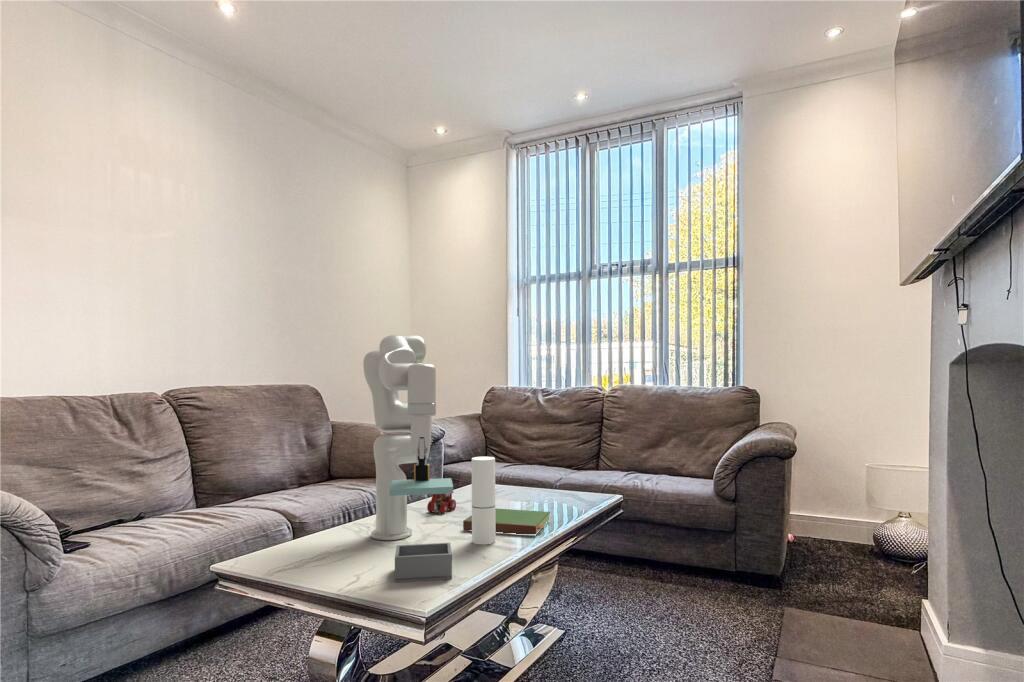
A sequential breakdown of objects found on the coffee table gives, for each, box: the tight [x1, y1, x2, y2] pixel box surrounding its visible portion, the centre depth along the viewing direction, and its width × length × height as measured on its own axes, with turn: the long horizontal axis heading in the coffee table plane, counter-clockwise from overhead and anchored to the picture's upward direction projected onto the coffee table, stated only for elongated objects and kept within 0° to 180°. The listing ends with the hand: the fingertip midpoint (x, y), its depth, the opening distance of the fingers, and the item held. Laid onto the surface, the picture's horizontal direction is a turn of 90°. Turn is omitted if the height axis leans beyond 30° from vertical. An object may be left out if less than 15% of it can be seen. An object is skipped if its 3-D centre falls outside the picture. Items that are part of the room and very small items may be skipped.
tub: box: [394, 542, 453, 583], centre depth 150 cm, size 10×14×6 cm
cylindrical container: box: [471, 456, 497, 545], centre depth 178 cm, size 7×7×25 cm
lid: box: [390, 463, 454, 496], centre depth 151 cm, size 12×16×6 cm
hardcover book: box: [462, 507, 551, 534], centre depth 194 cm, size 25×19×4 cm
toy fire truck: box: [426, 493, 457, 514], centre depth 216 cm, size 7×12×10 cm, turn 153°
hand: (421, 479), depth 155 cm, fingers closed on lid
